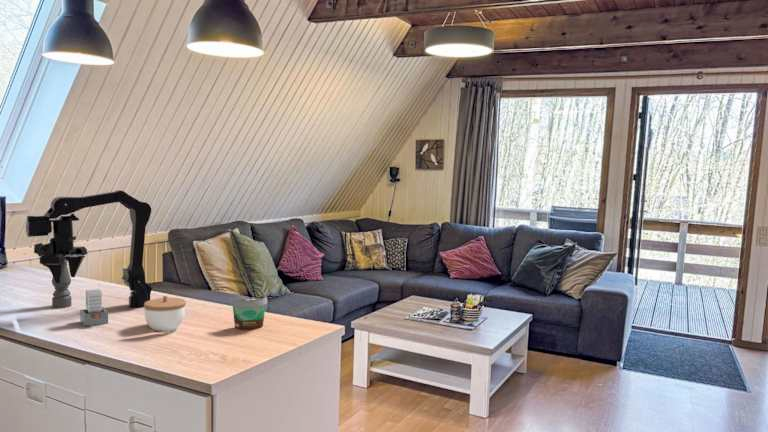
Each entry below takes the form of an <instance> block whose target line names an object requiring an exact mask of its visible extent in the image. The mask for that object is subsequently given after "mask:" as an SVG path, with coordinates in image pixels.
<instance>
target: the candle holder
mask: <svg viewBox="0 0 768 432" xmlns="http://www.w3.org/2000/svg"><path fill="white" fill-rule="evenodd" d="M63 263H65V265H64V269H63V273H62V277H61V281H60V283H56V282H55V280H54V277H53V276H52V279H51V284H52V286H53V287H54V291H53V293H52V295H53V296H52V297H51V298H52V299H51V304H52V305H51V307H52V308H53V309H65V308H69V307H71V306H72V296H71V291H69V286H70V285H71V282H72V280H71V275H70V271H69V267H68V261H67V260H66V259H65V260H64V262H63Z"/></svg>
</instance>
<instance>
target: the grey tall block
mask: <svg viewBox="0 0 768 432" xmlns="http://www.w3.org/2000/svg"><path fill="white" fill-rule="evenodd" d="M102 294H103V291H102V290H100V289H99V288H97V289H89V290H85V309H86V314H90V313H98V312H102V307H103V300H102V299H103V295H102Z"/></svg>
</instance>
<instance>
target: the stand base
mask: <svg viewBox="0 0 768 432" xmlns="http://www.w3.org/2000/svg"><path fill="white" fill-rule="evenodd" d="M79 320H80V323H81V325H82V326H83V327H93V326H100V325H107V324H109V311H108V310H107V309H106V308H105V307H103V306H102V312H98V313H90V314H86V308H85V309H80V310H79Z"/></svg>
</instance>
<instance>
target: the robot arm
mask: <svg viewBox="0 0 768 432" xmlns="http://www.w3.org/2000/svg"><path fill="white" fill-rule="evenodd" d="M113 203H114V204H115V203H120V204H121V205H122V206H123V207H125V208H126V209H128V210H129V217H130V222H131V224H132V225H131V226H132V228H131V240H130V250H129V251H130V254H129V264H128V266H127V268H123V269H122V273H123V274H122V278H121V279H122V280H123V284H124V285H125V286H126V287H127V288H129V290H130V296H128V307H129V308H130V309H132V308H133V309H135V308H137V309H138V308H139V309H141V308H144V303H145V302H146V301H149V300H151V293H152V291H153V287H152V286H151V285H150V284H148V283H147V282H146V273H145V269H144V267H143V266H144V265H143V264H144V263H143V262H144V250H145V238H146V237H145V236H146V227H147V225H148V223H149V220H150V218H151V215H152V207H151V205H150V204H149V203H147V202H145V201H140V200H138V199H137V198H135V197H134V196H131V195H129V194H128V193H127V192H126V191H124V190H118V189H117V190H115V191H110V192H103V193H98V194H90V195H86V196H57V197H55V198H53V200H51V202H50V207H49V209H48V210H47V211H46V212H45V213H44V215H27V216H26V224H25V232H26V236H27V238H33V237H45V236H46V237H47V236H48V237H49V234H51V233H53V234H52V235H53V237H52V238H51V237H50V239H49V242H48V243H45V244H43V243H42V242H39V243H36V244H34V246H33V247H34V248H33V253H34V254H36V255H37V256H38V257H39V258H38V259H39V264H40V265H42V266H43V267H46V268H48V269H49V271H50V273H51V275H52V278H53V277H54V280H55V282H56V283H60V281H61V277H62V273H63V269H64V265H65V263H63V262H64V260H65V259H66V260H67V264H68V270H69V275H70V278H76V277H75V276H76V274H77V272H78V270H79V269H80V266H81V265H82V262H83V261H84V259H85V257H86V256H87V255H88V249H87V248H86V247H85V246H74V241H75V240H77V236H74V227H73V222H76V221H79V220H80V218H79V217H77V216H76V215H75V214H74V213H76V212H79V211H80V210H83V209H86V208H90V207H97V206H103V205H108V204H113Z"/></svg>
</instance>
